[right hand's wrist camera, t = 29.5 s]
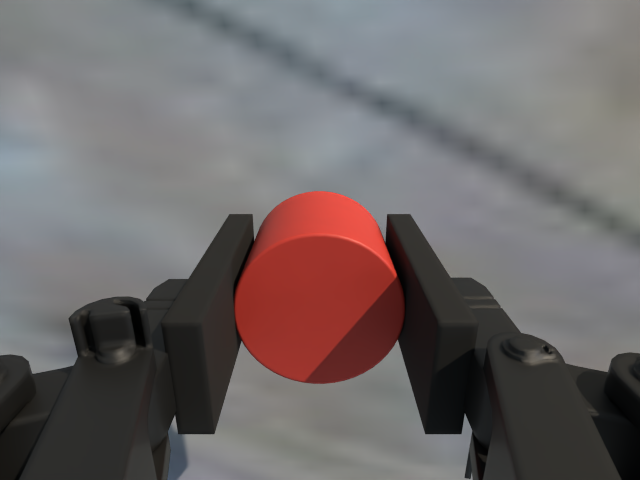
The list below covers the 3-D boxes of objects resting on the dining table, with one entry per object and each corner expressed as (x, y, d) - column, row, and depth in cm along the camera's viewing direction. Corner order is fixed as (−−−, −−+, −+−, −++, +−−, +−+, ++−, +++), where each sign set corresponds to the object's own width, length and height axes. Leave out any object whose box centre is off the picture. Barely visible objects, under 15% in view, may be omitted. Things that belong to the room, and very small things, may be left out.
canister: (247, 194, 14) (220, 238, 10) (383, 186, 14) (407, 228, 10) (262, 312, 16) (243, 389, 12) (384, 306, 16) (405, 381, 12)
